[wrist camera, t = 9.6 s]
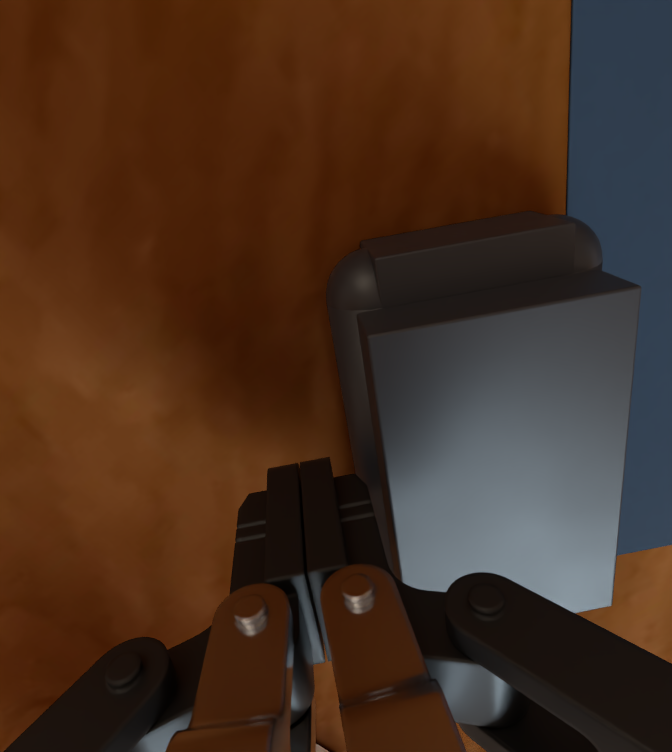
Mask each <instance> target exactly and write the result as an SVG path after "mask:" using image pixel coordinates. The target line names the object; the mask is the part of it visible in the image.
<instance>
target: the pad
mask: <svg viewBox="0 0 672 752" xmlns="http://www.w3.org/2000/svg"><path fill="white" fill-rule="evenodd" d="M566 215H567V216H571V217H574V218H576V219H579V220H581V221H582V222H584V223H585V224H587V225H588V226H589V227H590V228H591V229H592V230H593V231H594V232H595V234H596V236H597V237H598V239H599V241H600V245H601V248H602V258H603V264H602V271H604V272H607V273H609V274H612V275H614V276H617V277H619V278H622V279H625V280H627V281H630V282H632V283H635V284H637V285H640V286H641V299H640V310H639V321H638V331H637V342H636V353H635V364H634V374H633V385H632V396H631V407H630V417H629V428H628V439H627V450H626V460H625V471H624V482H623V493H622V503H621V514H620V525H619V536H618V546H617V555H621V554H626V553H632V552H637V551H642V550H647V549H652V548H657V547H662V546H667V545H672V0H572V6H571V44H570V81H569V119H568V157H567V195H566Z"/></svg>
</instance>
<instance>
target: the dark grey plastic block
mask: <svg viewBox="0 0 672 752" xmlns="http://www.w3.org/2000/svg"><path fill="white" fill-rule="evenodd" d="M360 248H361V249H359V250H357V251H354V252H352V253H350V254H348V255H347V256H346V257H344V258H343V259H342V260H341V261H340V262H339V263H338V264H337V265H336V266H335V268H334V269H333V271H332V273H331V274H330V277H329V280H328V283H327V289H326V301H327V308H328V314H329V320H330V326H331V332H332V338H333V343H334V349H335V355H336V361H337V367H338V373H339V379H340V385H341V391H342V396H343V402H344V408H345V414H346V420H347V426H348V432H349V438H350V444H351V449H352V455H353V461H354V467H355V473H356V475H357V476H358V477H359V478H360V479H361V480H362V481H363V482H364V483H365V484H367V487H368V490H369V494H370V498H371V502H372V506H373V509H374V513H375V517H376V521H377V525H378V528H379V532H380V536H381V540H382V544H383V547H384V551H385V555H386V559H387V563H388V565H389V568H390V570H391V571H392V573H393V574H394V575H395V576H396V578H398V579H399V580H400V581H401V582H403V583H405V584H406V585H408V586H411V587H413V588H417V589H420V590H427V591H438V592H447V590H448V588H449V587H450V585H451V584H452V583H453V582H454V581H455V580H457V579H458V578H460V577H462V576H464V575H467V574H471V573H477V572H488V573H494V574H498V575H501V576H503V577H506V578H508V579H510V580H512V581H514V582H516V583H517V584H519V585H521V586H523V587H525V588H527V589H529V590H531V591H533V592H535V593H537V594H539V595H541V596H542V597H544V598H546V599H548V600H550V601H552V602H554V603H556V604H558V605H560V606H562V607H564V608H565V609H567V610H569V611H571V612H573V613H578V612H583V611H588V610H593V609H598V608H603V607H608V606H611V605H612V600H613V589H614V579H615V568H616V557H617V546H618V536H619V525H620V514H621V503H622V493H623V482H624V471H625V460H626V450H627V439H628V428H629V417H630V407H631V396H632V385H633V374H634V364H635V353H636V342H637V331H638V321H639V310H640V299H641V286H640V285H637V284H635V283H632V282H630V281H627V280H625V279H622V278H619V277H617V276H614V275H612V274H609V273H607V272H604V271H602V264H603V258H602V248H601V245H600V241H599V239H598V237H597V236H596V234H595V232H594V231H593V230H592V229H591V228H590V227H589V226H588V225H587V224H585V223H584V222H582V221H581V220H579V219H576V218H574V217H571V216H567V215H559V214H555V215H544V214H540V213H537V212H533V211H526V212H520V213H515V214H509V215H503V216H498V217H492V218H487V219H481V220H475V221H470V222H464V223H459V224H453V225H447V226H442V227H436V228H430V229H425V230H419V231H414V232H408V233H402V234H397V235H391V236H386V237H380V238H374V239H369V240H363V241H361V242H360Z"/></svg>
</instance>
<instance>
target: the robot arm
mask: <svg viewBox="0 0 672 752" xmlns="http://www.w3.org/2000/svg"><path fill="white" fill-rule="evenodd" d="M235 540H236V543H235V549H234V558H233V567H232V577H231V586H230V595H229V596H228V597H226V598H225V599H224V601H223V602H222V603H221V604H220V605H219V607H218V608H217V610H216V612H215V615H214V618H213V622H212V625H211V626H210V627H209V628H208V629H206V630H205V631H203V632H202V633H200V634H199V635H197V636H195V637H193V638H191V639H189V640H187V641H185V642H183V643H181V644H179V645H177V646H175V647H173V648H171V649H168V650H167V649H166V647H165V646H164V644H163V643H162V642H160V641H159V640H157V639H154V638H150V637H140V638H134V639H131V640H128V641H125V642H123V643H121V644H119V645H117V646H115V647H114V648H112V649H111V650H109V651H108V652H107V653H106V654H104V655H103V656H102V657H101V658H100V659H99V660H98V661H97V662H96V663H95V664H94V665H93V666H92V667H91V668H90V669H89V670H88V671H87V672H85V673H84V674H83V675H82V676H81V677H80V678H79V679H78V680H77V681H76V682H75V683H74V684H73V685H72V686H71V687H70V688H69V689H68V690H67V691H66V692H65V693H64V694H63V695H62V696H61V697H60V698H59V699H57V700H56V701H55V702H54V703H53V704H52V705H51V706H50V707H49V708H48V709H47V710H46V711H45V712H44V713H43V714H42V715H41V716H40V717H39V718H38V719H37V720H36V721H35V722H34V723H33V724H32V725H31V726H29V727H28V728H27V729H26V730H25V731H24V732H23V733H22V734H21V735H20V736H19V737H18V738H17V739H16V740H15V741H14V742H13V743H12V744H11V745H10V746H9V747H8V748H7V749H6V750H5V751H4V752H316V702H315V698H314V672H313V665H314V664H319V663H324V662H325V654H324V645H325V649H326V654H327V658H328V661H332V666H333V671H334V677H335V682H336V687H337V692H338V698H339V703H340V705H339V708H340V714H341V720H342V726H343V731H344V736H345V742H346V747H347V752H466V749H465V747H464V744H463V742H462V739H461V736H460V734H459V731H458V729H457V726H456V723H458V724H459V725H460V727H461V728H462V730H463V731H464V732H465V733H466V734H467V735H468V736H469V737H470V738H471V739H472V740H473V741H475V742H476V743H477V744H478V745H480V746H481V747H482V748H483V749H485V750H486V751H487V752H672V664H671V663H669V662H667V661H665V660H663V659H661V658H659V657H658V656H656V655H654V654H652V653H650V652H648V651H646V650H644V649H642V648H640V647H638V646H636V645H635V644H633V643H631V642H629V641H627V640H625V639H623V638H621V637H619V636H617V635H615V634H613V633H611V632H610V631H608V630H606V629H604V628H602V627H600V626H598V625H596V624H594V623H592V622H590V621H588V620H587V619H585V618H583V617H581V616H579V615H577V614H575V613H573V612H571V611H569V610H567V609H565V608H564V607H562V606H560V605H558V604H556V603H554V602H552V601H550V600H548V599H546V598H544V597H542V596H541V595H539V594H537V593H535V592H533V591H531V590H529V589H527V588H525V587H523V586H521V585H519V584H517V583H516V582H514V581H512V580H510V579H508V578H506V577H503V576H501V575H498V574H494V573H488V572H477V573H471V574H467V575H464V576H462V577H460V578H458V579H457V580H455V581H454V582H453V583H452V584H451V585H450V587H449V588H448V590H447V592H438V591H427V590H420V589H417V588H413V587H411V586H408V585H406V584H405V583H403V582H401V581H400V580H399V579H398V578H396V576H395V575H394V574H393V573H392V571H391V570H390V568H389V565H388V563H387V559H386V555H385V551H384V547H383V544H382V540H381V536H380V532H379V528H378V525H377V521H376V517H375V513H374V509H373V506H372V502H371V498H370V494H369V490H368V487H367V484H365V483H364V482H363V481H362V480H361V479H360V478H359V477H358V476H357V475H356V474H350V475H345V476H339V477H334V478H333V473H332V467H331V462H330V457H326V458H321V459H316V460H310V461H305V462H300V468H299V464H298V463H295V464H290V465H284V466H279V467H274V468H269V469H268V471H267V490H266V491H261V492H256V493H251V494H249V495H248V496H247V498H246V499H245V501H244V502H243V504H242V505H241V507H240V508H239V511H238V521H237V530H236V539H235ZM323 641H324V643H323ZM455 722H456V723H455Z"/></svg>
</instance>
